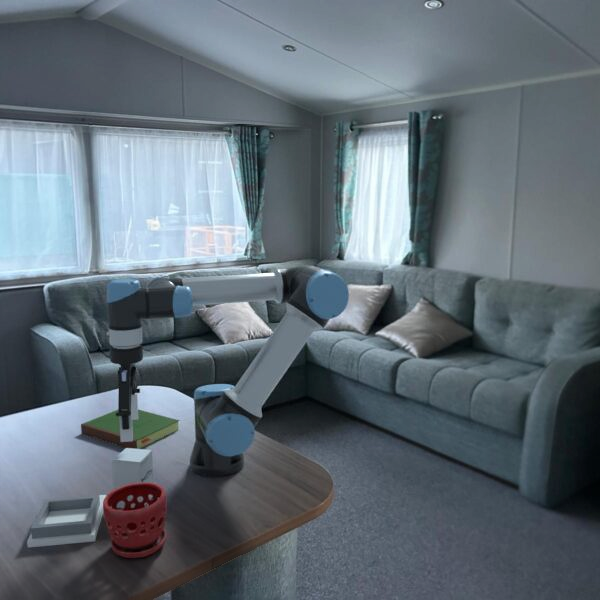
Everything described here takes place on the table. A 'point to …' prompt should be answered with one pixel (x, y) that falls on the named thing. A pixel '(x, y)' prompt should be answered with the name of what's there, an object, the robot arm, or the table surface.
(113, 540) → the plant pot
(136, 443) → the hardcover book
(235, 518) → the table surface
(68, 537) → the plate
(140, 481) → the supplement box
